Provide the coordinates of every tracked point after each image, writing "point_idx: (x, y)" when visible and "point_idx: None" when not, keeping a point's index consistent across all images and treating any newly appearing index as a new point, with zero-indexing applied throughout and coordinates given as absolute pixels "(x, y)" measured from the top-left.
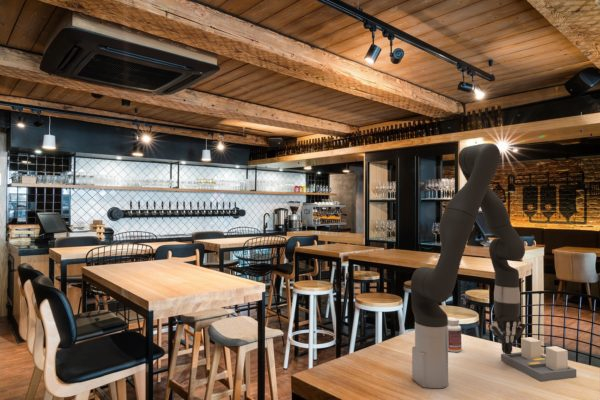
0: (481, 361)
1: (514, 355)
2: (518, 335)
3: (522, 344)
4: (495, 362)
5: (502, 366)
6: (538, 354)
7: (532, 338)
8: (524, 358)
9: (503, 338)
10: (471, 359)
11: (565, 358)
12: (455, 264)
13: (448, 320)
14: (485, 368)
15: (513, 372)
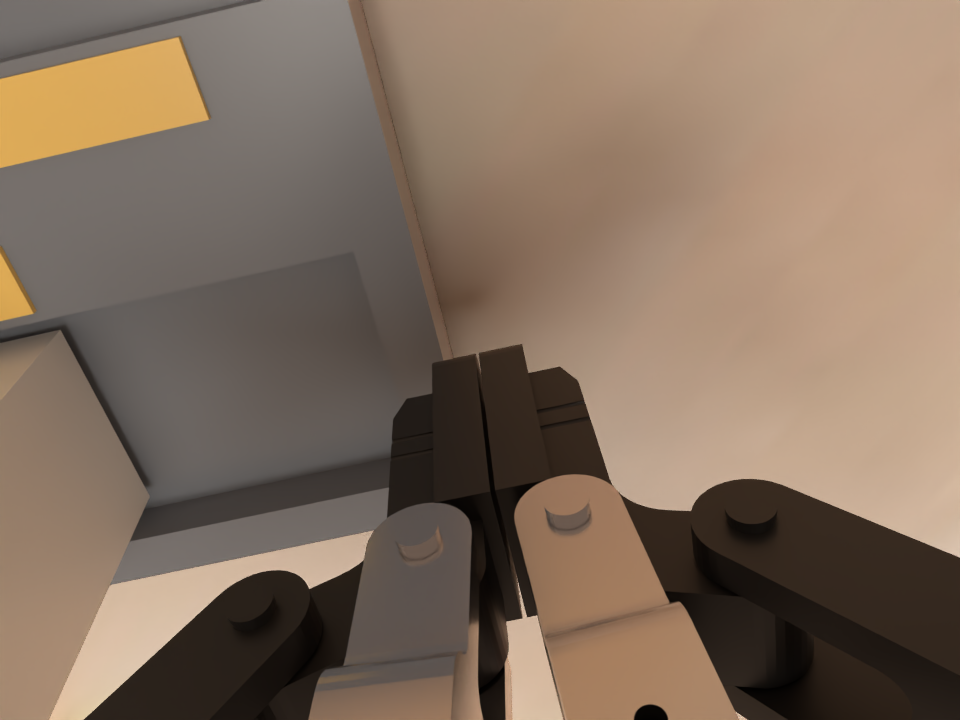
0: (765, 420)
1: (262, 498)
2: (166, 697)
3: (63, 632)
4: (589, 392)
5: (574, 255)
6: None
7: None
8: (127, 438)
9: (736, 540)
10: (853, 477)
11: None
12: None
13: None
14: (890, 180)
15: (539, 6)
